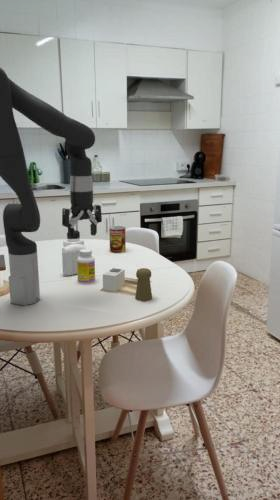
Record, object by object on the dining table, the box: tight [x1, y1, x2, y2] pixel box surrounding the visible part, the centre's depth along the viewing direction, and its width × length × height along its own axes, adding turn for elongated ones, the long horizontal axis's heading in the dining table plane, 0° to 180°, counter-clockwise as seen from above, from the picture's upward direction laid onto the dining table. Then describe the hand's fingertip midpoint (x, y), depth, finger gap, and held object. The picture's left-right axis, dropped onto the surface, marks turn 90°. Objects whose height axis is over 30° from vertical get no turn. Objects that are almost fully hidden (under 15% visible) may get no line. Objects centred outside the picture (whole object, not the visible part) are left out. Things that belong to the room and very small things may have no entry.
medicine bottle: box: [62, 229, 85, 249], centre depth 194 cm, size 7×7×12 cm
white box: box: [102, 267, 126, 292], centre depth 150 cm, size 8×5×6 cm, turn 158°
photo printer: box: [61, 244, 87, 277], centre depth 167 cm, size 10×4×12 cm, turn 123°
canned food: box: [109, 225, 127, 254], centre depth 202 cm, size 8×8×12 cm
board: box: [99, 277, 153, 297], centre depth 153 cm, size 17×14×1 cm
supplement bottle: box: [77, 248, 96, 285], centre depth 157 cm, size 7×7×13 cm
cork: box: [134, 267, 153, 302], centre depth 140 cm, size 6×6×11 cm
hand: (82, 236), depth 140 cm, fingers open, 8 cm apart
